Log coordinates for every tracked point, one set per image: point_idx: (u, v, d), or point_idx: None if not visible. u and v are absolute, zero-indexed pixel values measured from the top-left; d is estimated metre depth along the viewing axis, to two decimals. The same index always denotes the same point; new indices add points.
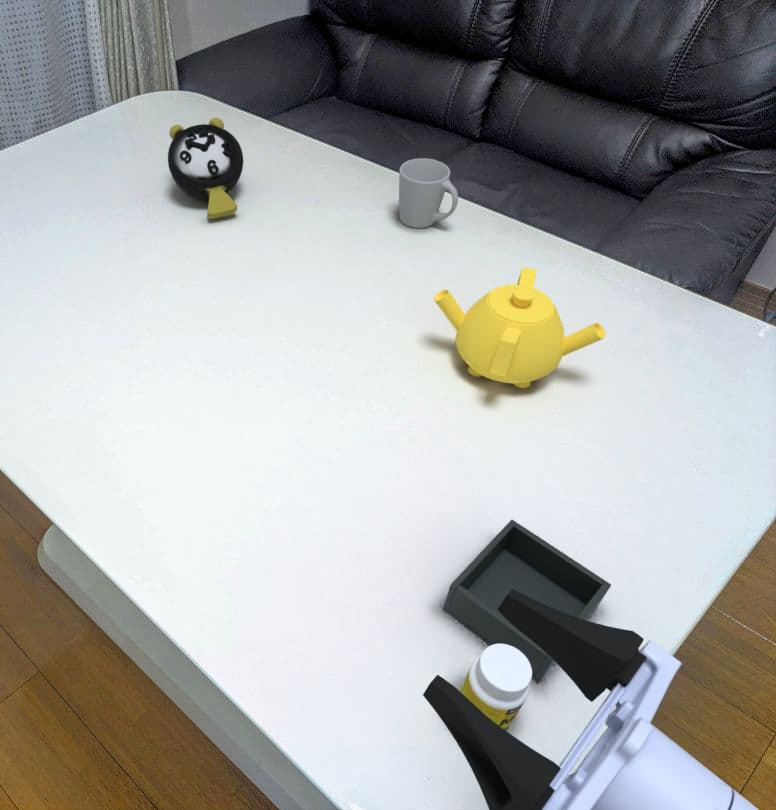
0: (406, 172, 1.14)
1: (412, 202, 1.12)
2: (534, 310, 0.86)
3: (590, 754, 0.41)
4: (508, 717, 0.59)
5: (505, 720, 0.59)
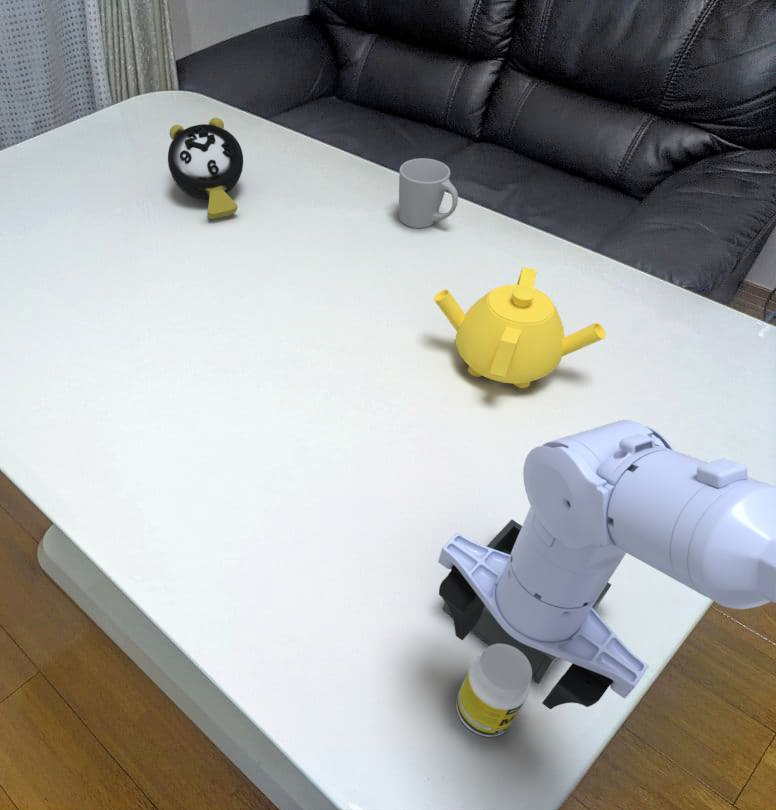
0: (406, 172, 1.14)
1: (412, 202, 1.12)
2: (534, 310, 0.86)
3: None
4: (508, 717, 0.59)
5: (505, 720, 0.59)
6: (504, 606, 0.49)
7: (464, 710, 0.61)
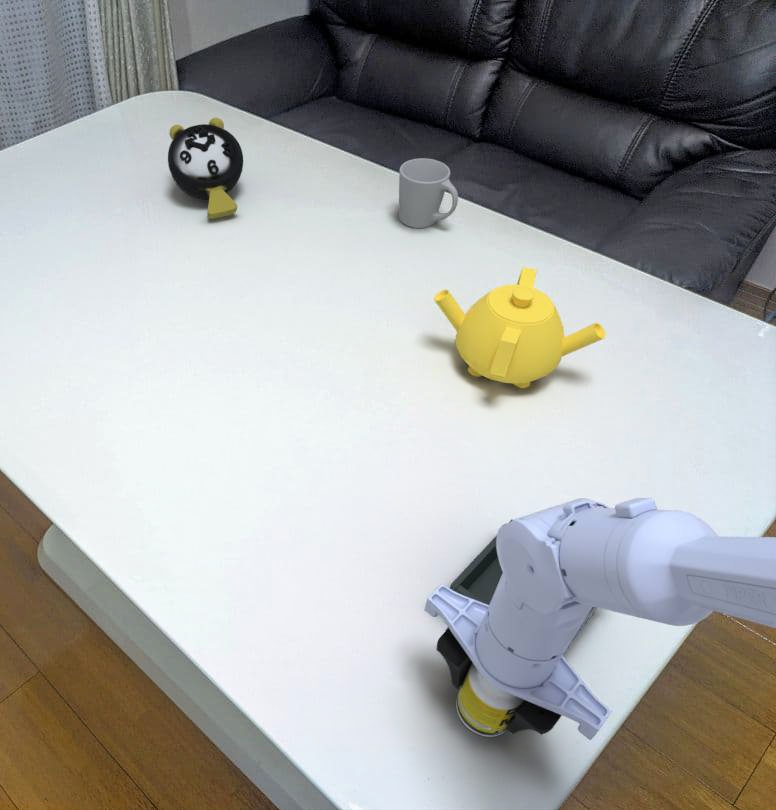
0: (406, 172, 1.14)
1: (412, 202, 1.12)
2: (534, 310, 0.86)
3: None
4: (508, 717, 0.59)
5: (505, 720, 0.59)
6: (482, 655, 0.54)
7: (464, 710, 0.61)
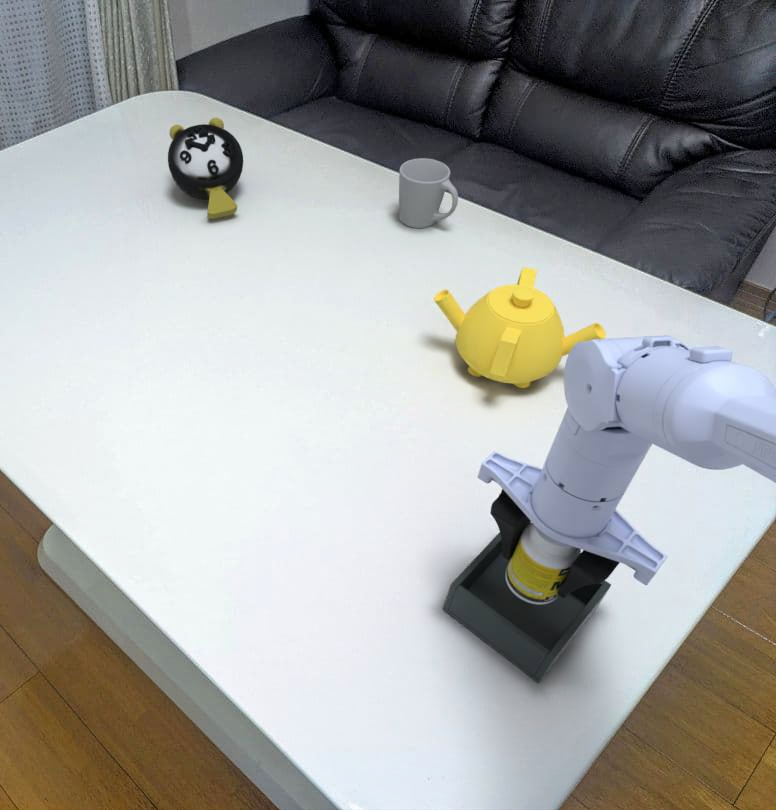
0: (406, 172, 1.14)
1: (412, 202, 1.12)
2: (534, 310, 0.86)
3: None
4: (560, 579, 0.60)
5: (556, 583, 0.61)
6: (539, 508, 0.56)
7: (515, 578, 0.63)
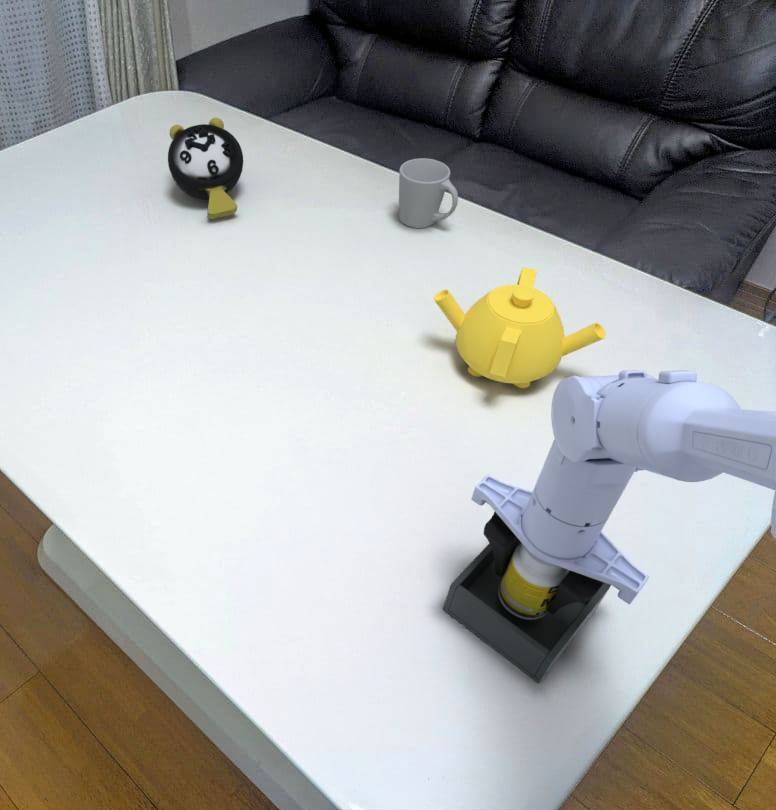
0: (406, 172, 1.14)
1: (412, 202, 1.12)
2: (534, 310, 0.86)
3: None
4: (549, 596, 0.64)
5: (546, 600, 0.64)
6: (529, 530, 0.59)
7: (507, 594, 0.66)
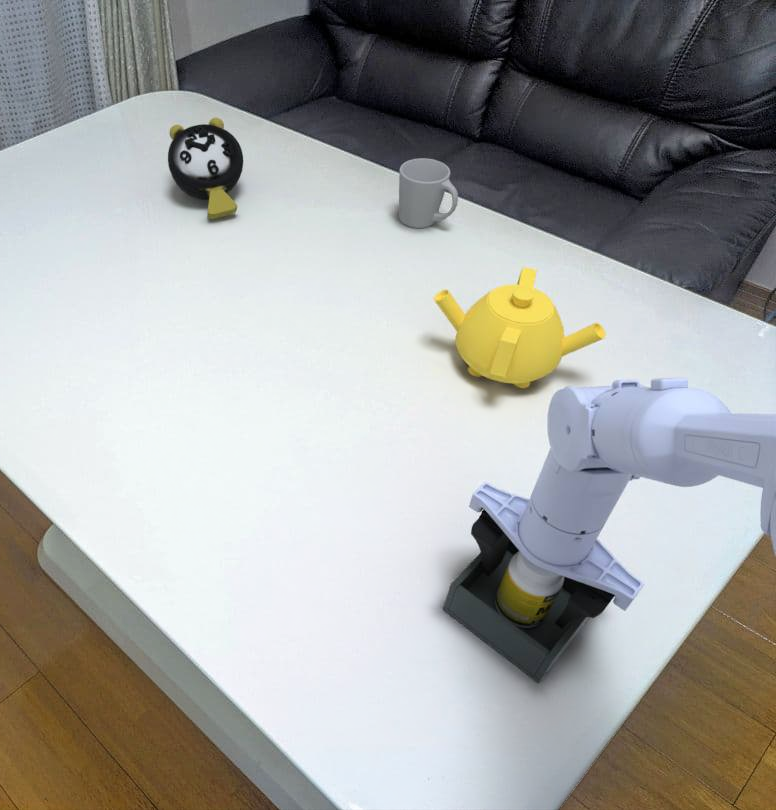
0: (406, 172, 1.14)
1: (412, 202, 1.12)
2: (534, 310, 0.86)
3: None
4: (545, 605, 0.65)
5: (541, 609, 0.65)
6: (526, 537, 0.60)
7: (503, 603, 0.67)
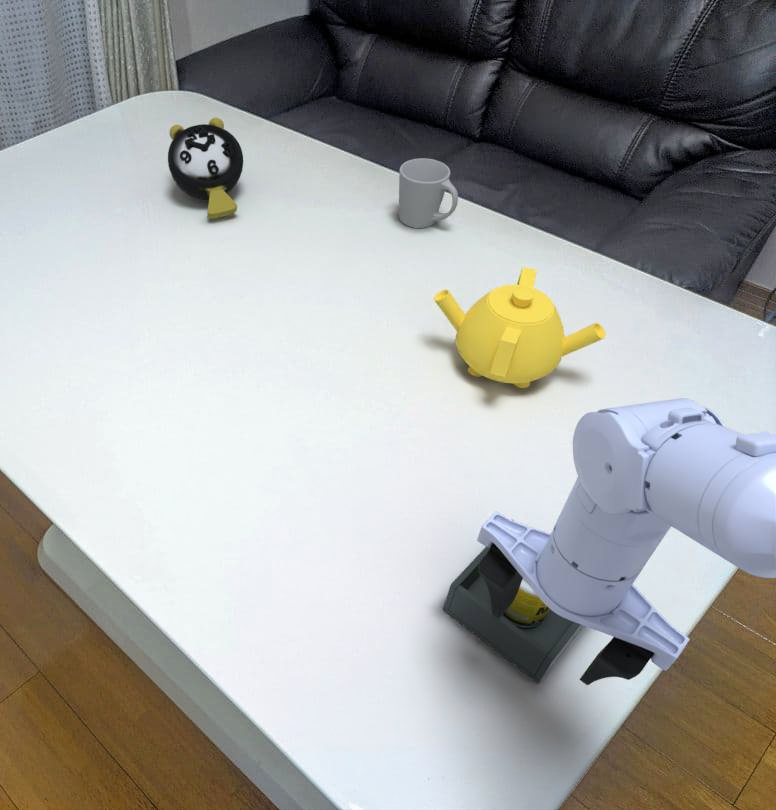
0: (406, 172, 1.14)
1: (412, 202, 1.12)
2: (534, 310, 0.86)
3: None
4: (545, 605, 0.65)
5: (541, 609, 0.65)
6: (546, 581, 0.50)
7: None
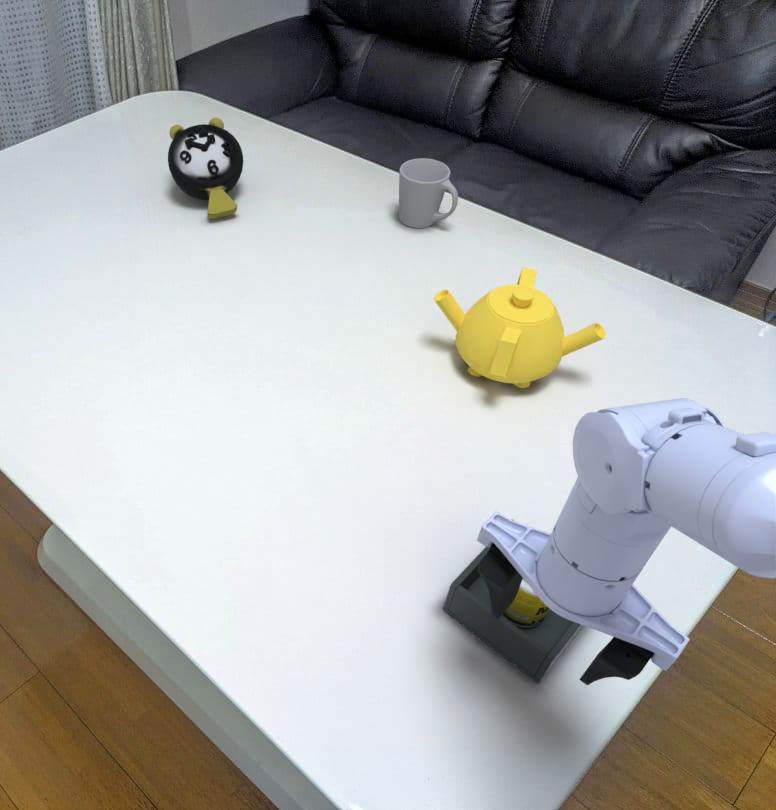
0: (406, 172, 1.14)
1: (412, 202, 1.12)
2: (534, 310, 0.86)
3: None
4: (545, 605, 0.65)
5: (541, 609, 0.65)
6: (546, 581, 0.50)
7: None
